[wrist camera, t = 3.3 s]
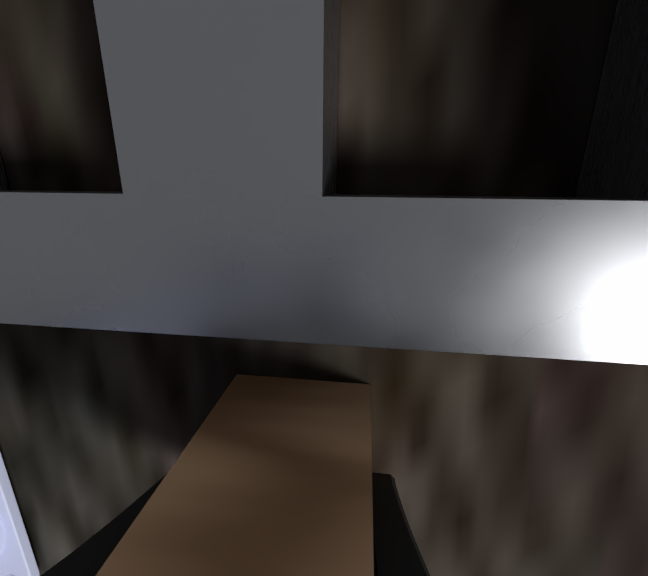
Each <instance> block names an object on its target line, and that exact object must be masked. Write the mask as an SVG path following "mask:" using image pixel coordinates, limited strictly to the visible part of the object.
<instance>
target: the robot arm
mask: <svg viewBox="0 0 648 576" xmlns="http://www.w3.org/2000/svg"><path fill="white" fill-rule="evenodd" d="M166 475H167V474H166ZM166 475H165V476H166ZM165 476H164V477H165ZM164 477H163V478H161V479H160V480H159V481H158V482H157V483H156V484H155V485H153V486H152V487H151V488H150V489H149V490H148V491H146V492H145V493H144V494H143V495H142V496H141V497H139V498H138V499H137V500H136V501H135V502H134V503H132V504H131V505H130V506H129V507H128V508H126V509H125V510H124V511H123V512H122V513H121V514H119V515H118V516H117V517H116V518H115V519H113V520H112V521H111V522H110V523H109V524H107V525H106V526H105V527H104V528H102V529H101V530H100V531H99V532H97V533H96V534H95V535H93V536H92V537H91V538H90V539H88V540H87V541H86V542H85V543H83V544H82V545H81V546H80V547H78V548H77V549H76V550H75V551H73V552H72V553H71V554H69V555H68V556H67V557H65V558H64V559H63V560H61V561H60V562H59V563H57V564H56V565H55V566H53V567H52V568H51V569H49V570H48V571H46V572H45V573H44V574H42V575H41V576H96V575H97V573H98V572H99V570H100V569H101V567H102V566H103V565H104V563H105V562H106V560H107V559H108V557H109V556H110V555H111V553H112V552H113V550H114V549H115V547H116V546H117V545H118V543H119V542H120V540H121V539H122V537H123V536H124V535H125V533H126V532H127V530H128V529H129V527H130V526H131V525H132V523H133V522H134V520H135V519H136V517H137V516H138V515H139V513H140V512H141V510H142V509H143V507H144V506H145V505H146V503H147V502H148V500H149V499H150V497H151V496H152V495H153V493H154V492H155V490H156V489H157V487H158V486H159V485H160V483H161V482H162V480H163V479H164ZM372 498H373V554H374V576H430V574H429V572H428V570H427V568H426V565H425V563H424V560H423V558H422V556H421V553H420V551H419V549H418V546H417V544H416V542H415V539H414V537H413V534H412V532H411V529H410V527H409V524H408V521H407V518H406V516H405V513H404V510H403V507H402V504H401V501H400V498H399V495H398V491H397V488H396V484H395V479H394V478H393V477H392V476H391V475H390V474H381V473H372ZM0 576H39V569H38V566H37V563H36V560H35V557H34V554H33V551H32V548H31V544H30V541H29V538H28V535H27V532H26V529H25V526H24V523H23V520H22V517H21V514H20V510H19V507H18V504H17V501H16V498H15V495H14V492H13V489H12V486H11V483H10V480H9V476H8V473H7V470H6V467H5V464H4V461H3V458H2V455H1V452H0Z"/></svg>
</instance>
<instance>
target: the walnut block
mask: <svg viewBox="0 0 648 576" xmlns="http://www.w3.org/2000/svg"><path fill="white" fill-rule="evenodd" d="M96 576H374V554H373V498H372V443H371V387H370V384H358V383H345V382H332V381H319V380H306V379H293V378H280V377H267V376H254V375H241V374H237V375H236V376H235V378H234V379H233V380H232V382H231V383H230V385H229V386H228V388H227V389H226V390H225V392H224V393H223V395H222V396H221V398H220V399H219V400H218V402H217V403H216V405H215V406H214V408H213V409H212V410H211V412H210V413H209V415H208V416H207V418H206V419H205V420H204V422H203V423H202V425H201V426H200V428H199V429H198V430H197V432H196V433H195V435H194V436H193V438H192V439H191V440H190V442H189V443H188V445H187V446H186V448H185V449H184V450H183V452H182V453H181V455H180V456H179V458H178V459H177V460H176V462H175V463H174V465H173V466H172V467H171V469H170V470H169V472H168V473H167V475H166V476H165V477H164V479H163V480H162V482H161V483H160V485H159V486H158V487H157V489H156V490H155V492H154V493H153V495H152V496H151V497H150V499H149V500H148V502H147V503H146V505H145V506H144V507H143V509H142V510H141V512H140V513H139V515H138V516H137V517H136V519H135V520H134V522H133V523H132V525H131V526H130V527H129V529H128V530H127V532H126V533H125V535H124V536H123V537H122V539H121V540H120V542H119V543H118V545H117V546H116V547H115V549H114V550H113V552H112V553H111V555H110V556H109V557H108V559H107V560H106V562H105V563H104V565H103V566H102V567H101V569H100V570H99V572H98V573H97V575H96Z"/></svg>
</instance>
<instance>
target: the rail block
mask: <svg viewBox="0 0 648 576" xmlns="http://www.w3.org/2000/svg"><path fill="white" fill-rule="evenodd" d="M93 3H94V9H95V16H96V22H97V29H98V35H99V42H100V48H101V55H102V61H103V67H104V74H105V80H106V87H107V93H108V100H109V106H110V113H111V119H112V126H113V132H114V138H115V145H116V151H117V158H118V164H119V171H120V177H121V184H122V190H123V191H54V190H9V187H8V183H7V179H6V175H5V171H4V167H3V163H2V159H1V155H0V323H4V324H20V325H35V326H51V327H67V328H82V329H98V330H113V331H129V332H145V333H160V334H176V335H192V336H207V337H223V338H239V339H254V340H270V341H285V342H301V343H317V344H332V345H348V346H364V347H379V348H395V349H411V350H426V351H442V352H457V353H473V354H489V355H504V356H520V357H536V358H551V359H567V360H583V361H598V362H614V363H629V364H645V365H648V0H618V1H617V6H616V10H615V15H614V20H613V24H612V29H611V33H610V38H609V43H608V47H607V52H606V57H605V61H604V66H603V70H602V75H601V80H600V84H599V89H598V94H597V98H596V103H595V107H594V112H593V117H592V121H591V126H590V131H589V135H588V140H587V144H586V149H585V154H584V158H583V163H582V168H581V172H580V177H579V181H578V186H577V191H576V195H575V197H530V196H450V195H371V194H336V184H337V134H338V83H339V33H340V0H93Z"/></svg>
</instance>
